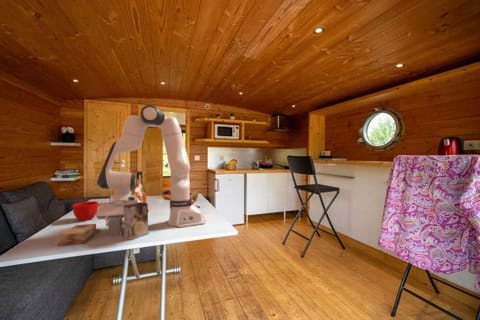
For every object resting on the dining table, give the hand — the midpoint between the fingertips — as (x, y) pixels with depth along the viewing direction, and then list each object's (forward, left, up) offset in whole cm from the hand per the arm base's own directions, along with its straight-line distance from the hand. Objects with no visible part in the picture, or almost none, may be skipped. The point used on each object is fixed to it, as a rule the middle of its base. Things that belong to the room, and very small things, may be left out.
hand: (115, 224), depth 108 cm
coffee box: (-11, +6, -5) cm, 13 cm away
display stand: (+15, +2, -5) cm, 16 cm away
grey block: (0, 0, -5) cm, 5 cm away
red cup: (+24, -32, -5) cm, 40 cm away
